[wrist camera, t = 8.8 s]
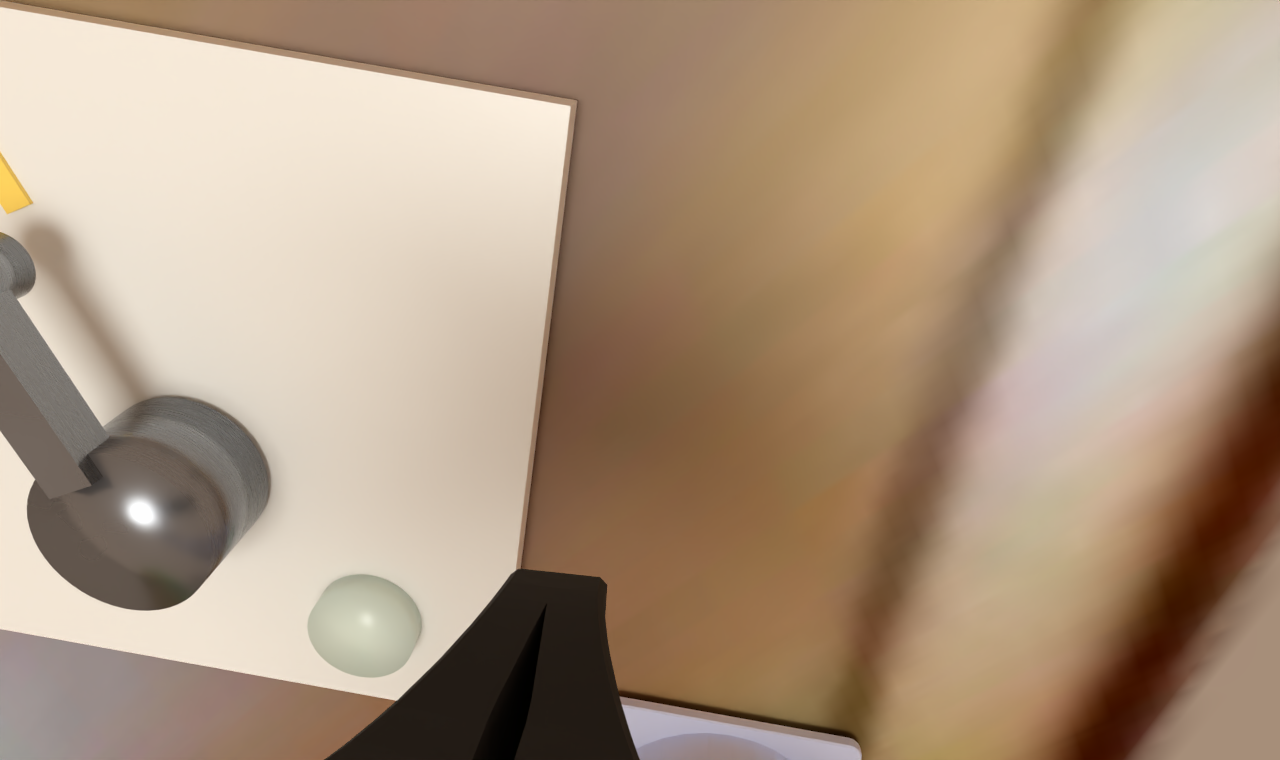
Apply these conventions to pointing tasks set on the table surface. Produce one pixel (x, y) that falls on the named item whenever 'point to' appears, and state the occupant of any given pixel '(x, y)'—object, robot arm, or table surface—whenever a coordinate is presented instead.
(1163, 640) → the table surface
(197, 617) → the white paper sheet
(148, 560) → the grey crank handle
